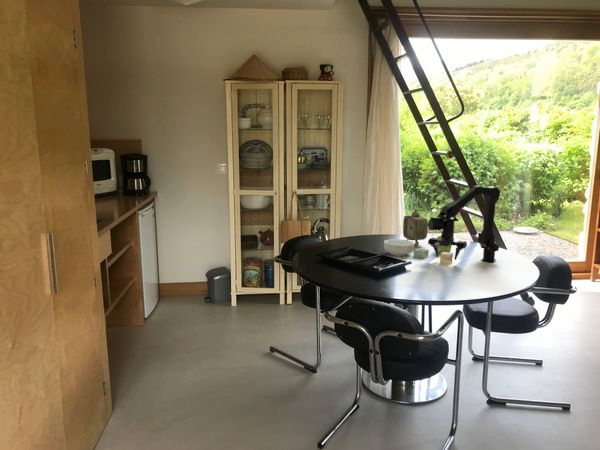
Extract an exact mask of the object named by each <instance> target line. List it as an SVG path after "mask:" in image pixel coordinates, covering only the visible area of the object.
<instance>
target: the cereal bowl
mask: <svg viewBox="0 0 600 450" xmlns="http://www.w3.org/2000/svg"><path fill="white" fill-rule="evenodd" d="M414 244H415V242H414V241H412V240H408V241H407V239H398V238H397V239H395V238H394V239H386V240H384V242H383V248H384V250H385V251H386V252H388V253H389V254H390V255H391V256H395V257H397V256H398V257H403V256H406V255H408V254H410V253H413V252H414V251H413V250H415V249H414V248H415V246H414Z"/></svg>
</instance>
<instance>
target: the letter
mask: <svg viewBox="0 0 600 450" xmlns="http://www.w3.org/2000/svg"><path fill="white" fill-rule="evenodd" d="M461 261H462V259H459V258H456V260H455V258H452V263H451V264H443V263H440V255H439V256H438V258H437V256H436V257H434V259H432V260H430V261H429V262H428V265H433V266H443V267H449V268H454V267H455V266H456V265H458V264H459V263H460V262H461Z"/></svg>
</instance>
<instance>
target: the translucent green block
mask: <svg viewBox="0 0 600 450" xmlns="http://www.w3.org/2000/svg"><path fill="white" fill-rule="evenodd" d="M429 251H430V249H427V248H426V249H425V248H420V247H419V248H416V249H413V251H412V252H413V258H417V259H427V258H428V257H429Z"/></svg>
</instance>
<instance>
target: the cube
mask: <svg viewBox="0 0 600 450" xmlns="http://www.w3.org/2000/svg"><path fill="white" fill-rule="evenodd" d="M453 256H454V254H453V252H450V253H448V252H442V253H440V254H439V257H440V263H443V264H451V263H452V258H453ZM453 259H454V258H453Z"/></svg>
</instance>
